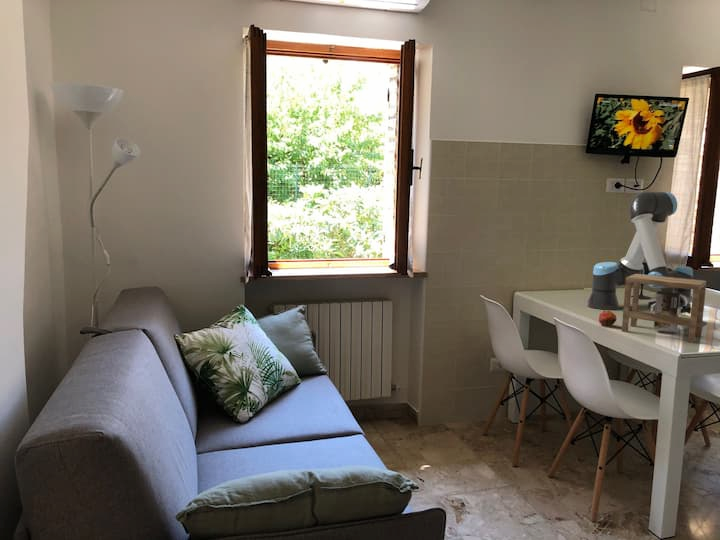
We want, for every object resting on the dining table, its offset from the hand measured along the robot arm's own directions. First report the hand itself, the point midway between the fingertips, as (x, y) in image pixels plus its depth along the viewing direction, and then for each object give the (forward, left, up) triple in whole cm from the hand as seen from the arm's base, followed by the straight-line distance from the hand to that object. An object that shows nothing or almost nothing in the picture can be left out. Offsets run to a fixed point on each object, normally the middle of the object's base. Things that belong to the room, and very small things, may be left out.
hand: (664, 310), depth 248 cm
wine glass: (-16, +87, -11) cm, 89 cm away
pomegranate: (-23, +3, -11) cm, 25 cm away
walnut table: (-1, +1, -10) cm, 10 cm away
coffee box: (+1, +4, -9) cm, 10 cm away
